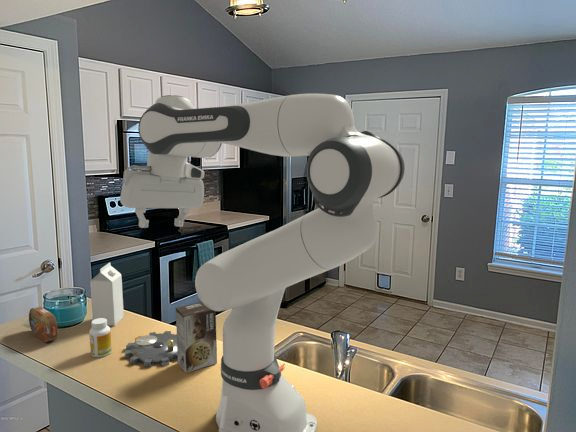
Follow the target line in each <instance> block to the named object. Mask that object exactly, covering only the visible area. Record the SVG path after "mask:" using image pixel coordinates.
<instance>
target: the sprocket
mask: <svg viewBox="0 0 576 432" xmlns="http://www.w3.org/2000/svg"><path fill="white" fill-rule="evenodd" d="M124 357H125V359H126V360H127V359H130V361H129V362H130V364H132V365H133V366H136V365H137V364H140V363H141V364H143V366H144V368H151V367H153V365H157V364H158V365H159V364H161V366H162V367H164V366H169V365H170V362H172V361H174V360H176V361H178V352H177V333H176V334H174V333H172V331H171V330H165V331H164V332H161V333H157V332H156V331H152V332H149V333H148V334H147V335H142V336H141V335H138V336H137V337H134V342H128V343H127V344H126V346H125V350H124Z"/></svg>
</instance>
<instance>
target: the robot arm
mask: <svg viewBox="0 0 576 432" xmlns="http://www.w3.org/2000/svg"><path fill="white" fill-rule="evenodd" d="M137 130H138V135H139V138H140V140H141V142H142V143H143V145H144V146H145V148H146V149H147V150H148V152H147V163H146V165H136V164H135V165H134V164H133V165H130V166H128V167H127V168H126V169H125V170H124V171H123V175H122V176H123V178H122V180H123V183H122V187H121V191H120V198H119V201H120V204H121V205H122V207H126V208H129V209H134V212H135V214H136V216H137V218H138V228H140V229H143V228H144V229H147V228H149V227H150V226H149V223H150V220H149V219H146V217H145V215H144V214H145V213H146V211H147V209H178V211H179V212H180V213H179V214H178V216H177V218H176V217H175V218H174V223H173V224H174V226H175V227H178V228H179V227H184V223H185V220H186V218H187V216H188V215H189V213H190V209H200V208H201V207H202V206H203V204H204V199H205V198H204V197H205V196H204V195H205V185H204V181H203V179H204V177H205V171H204V170H203V169H202V168H199V167H197V166H195V165H193V164H192V163H190V162H188V158H189V157H191V158H199V159H200V158H201V159H206V158H212V157H213V156H215V155H216V154H218V152H219V150H220V149H221V148H222V146H223V145H222V144H226V145H230V146H235V147H238V148H242V149H246V150H249V151H253V152H257V153H262V154H265V155H266V154H267V155H270V156H278V157H308V158H307V161H306V168H305V169H306V170H305V171H306V173H305V174H306V179H307V184H308V187H309V189H310V191H311V193H312V195H313V198H314V204H315V205H316V207H317V208H316V209H314V210H312V211H310V212H308V213H306V214H304V215H302V216H300V217H298V218H296V219H294V220H292V221H290V222H287V223H286V224H284V225H282V226H280V227H278V228H276V229H274V230H271V231H269V232H266V233H265V234H263V235H259V236H258V237H255V238H253V239H250V240H248V241H246V242H244V243H243V244H239V245H238V246H235V247H233V248H230V249H229V250H226V251H224V252H222V253H220V254H218V255H216V256H214V257H213V258H211V259H209V260H208V261H206V262H204V263H203V264H202V265H201V266H200V267H199V268H198V270H197V271H196V275H195V282H194V284H195V285H194V287H195V291H196V294H197V297H198V299H199V300H200V302H202V303H203V304H204V305H205V306H206V307H208V308H209V309H211V310H213V311H216V312H223V311H229V310H230V311H229V314H228V315H227V317H226V318H225V320H224V322H223V327H222V356H221V358H220V359H221V360H220V376H221V379H222V383H221V393H220V398H219V405H218V407H217V410H216V413H215V414H216V415H215V421H216V424H217V427H218V432H316V431H317V427H318V423H317V418H316V416H314V415H313V414H311V413H309V412H307V404H306V400H305V399H304V397H303V395H301V393H299V392H298V390H296V387H295V386H294V385H293V384H291V383H290V382H289V381H288V380H287V379H286V378H285V377H284V376H283V375H282V372H283V371H284V370H285V368H286V367H285V363H282V364H281V365H280V366H279V363H278V360H277V357H276V354H275V341H276V340H275V339H276V337H275V336H276V324H277V319H278V314H279V310H280V308H281V303H282V300H283V298H284V294H285V291H286V288H288V287H291V286H293V285H296V284H298V283H299V282H302V281H305V280H307V279H310V278H312V277H315V276H318V275H320V274H323V273H325V272H328V271H330V270H334V269H335V268H339V267H340V266H342V265H344V264H346V263H348V262H351V261H352V260H354V259H355V258H357V257H359V256H360V255H362V254H364V253H365V252H366V251H368V250H369V249H371V248H372V247H373V246H374V245H375V243H376V241H377V240H378V237H379V224H378V220H377V217H376V215H375V213H374V204H375V200H376V199H380V198H381V199H382V198H384V197H386V196H388V195H390V194H392V193H393V192H394V191H395V190H396V189H397V188H398V187H399V186H400V184H401V182H402V180H403V178H404V175H405V170H406V169H405V165H406V164H405V161H404V158H403V155H402V154H401V152H400V151H399V150H398V149H397V148H396V147H395V145H392V143H390V142H388V141H387V140H385V139H383V138H381V137H379V136H377V135H376V134H373V133H372V132H370V131H368V130H364V131H358V129H357V128H356V126H355V116H354V112H353V110H352V107H351V104H349V102H348V101H347V100H346V99H345V98H344V97H342V96H340V95H337V94H330V93H329V94H328V93H298V94H289V95H284V96H278V97H273V98H272V97H271V98H266V99H262V100H257V101H251V102H243V103H238V104H232V105H227V106H216V107H202V108H198V107H197V108H196V107H195V106H194V104H193V103H192V102H191V100H190V99H189V98H187V97H185V96H182V95H170V94H169V95H163V96H160V97H158V98H157V99H156V100H155V103H154V104H152V105H151V106H149V107H148V108H146V110H145V111H144V112H143V114H142V115H141V117H140V119H139V121H138V128H137Z"/></svg>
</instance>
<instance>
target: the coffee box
mask: <svg viewBox="0 0 576 432" xmlns="http://www.w3.org/2000/svg"><path fill="white" fill-rule="evenodd" d="M216 316H217V311H213V310H211V309H209V308H208V307H206V306H205V305H204V304H203V303H202V301H200V302H196V303H191V304H188V305H183V306H178V307H176V308H175V321H176V323H175V325H176V334H177V352H178V360H177V364H178V365H179V366H180V367H181V369H182V370H183V371H184V372H186V374H188V373H191V372H193V371H197V370H201V369H203V368H206V367H209V366H212V365H215V364H218V350H217V349H218V348H217V346H218V344H217V317H216Z"/></svg>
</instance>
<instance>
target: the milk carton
mask: <svg viewBox="0 0 576 432" xmlns="http://www.w3.org/2000/svg"><path fill="white" fill-rule="evenodd" d="M122 277H123V276H122V274H121V272H119V271H118V270H117V269H116V268H115V267H113V266H112V265H111V262H108V263H107V264H105V265H104V266H103V267H101V268H99V273H98V274H97V275H95V276H94V277H93V278H92V279H91V280H90V281H89V285H90V299H91V313H92V321H93V320H94V319H98V318H105V319H107V326H109V327H113V326H116V325H117V324H118V323H120V321H121V320H123V318H124V317H125V316H124V315H125V314H124V297H123V279H122Z"/></svg>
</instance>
